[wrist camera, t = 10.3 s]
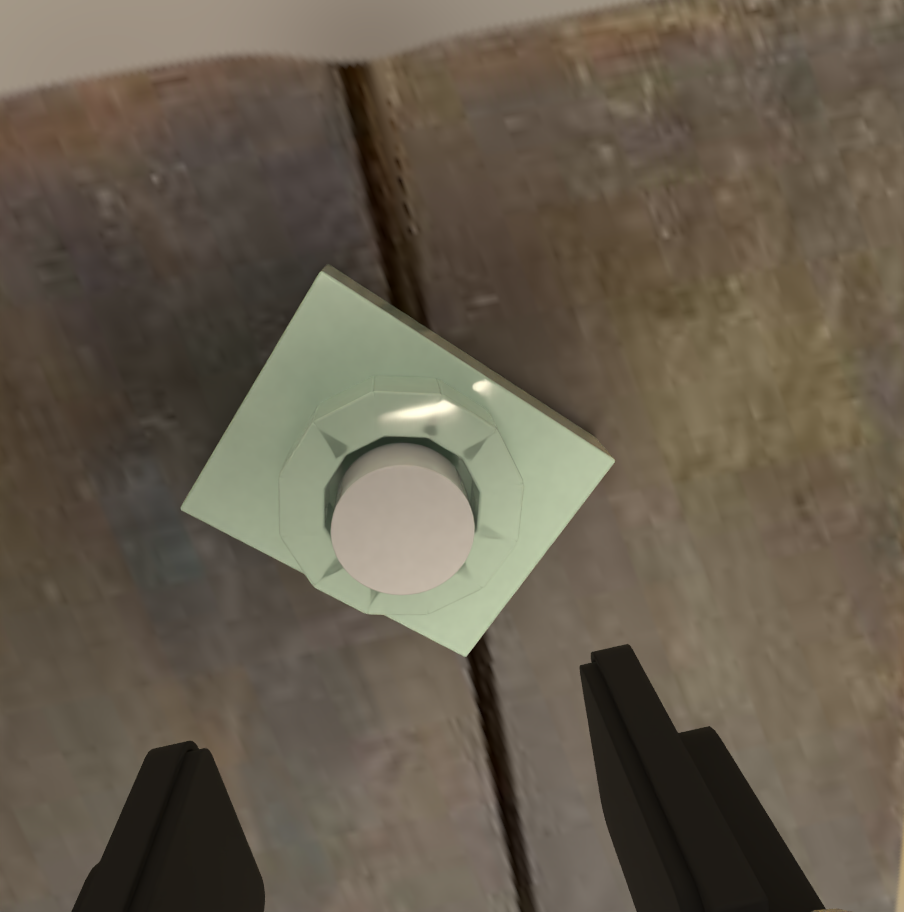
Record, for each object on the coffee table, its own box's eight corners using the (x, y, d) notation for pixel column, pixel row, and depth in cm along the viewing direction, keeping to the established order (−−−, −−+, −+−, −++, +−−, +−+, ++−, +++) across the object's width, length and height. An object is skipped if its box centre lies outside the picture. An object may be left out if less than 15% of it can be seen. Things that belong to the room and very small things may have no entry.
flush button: (310, 524, 19) (303, 554, 18) (380, 417, 19) (379, 438, 17) (421, 584, 20) (424, 618, 19) (493, 484, 19) (503, 510, 18)
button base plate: (197, 481, 22) (159, 538, 19) (327, 262, 21) (313, 276, 17) (459, 620, 25) (472, 695, 21) (596, 437, 23) (636, 483, 19)
